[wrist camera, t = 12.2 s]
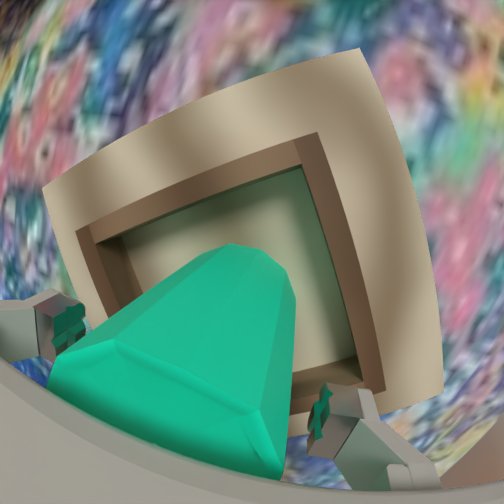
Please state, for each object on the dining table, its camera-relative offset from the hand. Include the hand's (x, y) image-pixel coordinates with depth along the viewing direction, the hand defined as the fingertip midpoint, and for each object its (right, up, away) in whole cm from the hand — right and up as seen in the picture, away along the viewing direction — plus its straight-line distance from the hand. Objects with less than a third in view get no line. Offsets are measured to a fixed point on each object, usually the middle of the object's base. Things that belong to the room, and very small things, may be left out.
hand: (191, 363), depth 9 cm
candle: (+1, +1, +7) cm, 7 cm away
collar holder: (+1, +1, +8) cm, 8 cm away
